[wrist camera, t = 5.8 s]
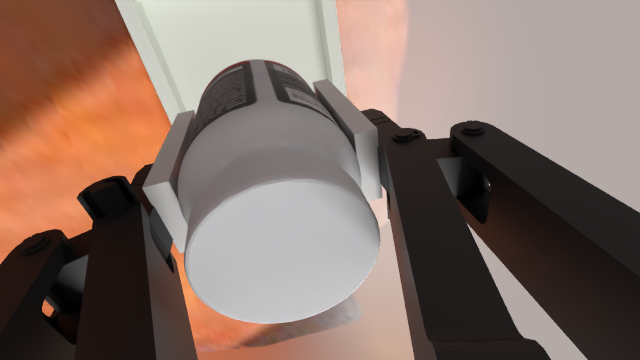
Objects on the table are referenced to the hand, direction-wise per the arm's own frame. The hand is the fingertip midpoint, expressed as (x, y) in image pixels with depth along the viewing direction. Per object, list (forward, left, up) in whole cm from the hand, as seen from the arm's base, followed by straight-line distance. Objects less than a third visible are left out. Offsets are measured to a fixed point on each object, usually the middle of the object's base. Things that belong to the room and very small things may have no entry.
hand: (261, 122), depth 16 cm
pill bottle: (0, 0, 0) cm, 0 cm away
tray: (0, 0, -12) cm, 12 cm away
